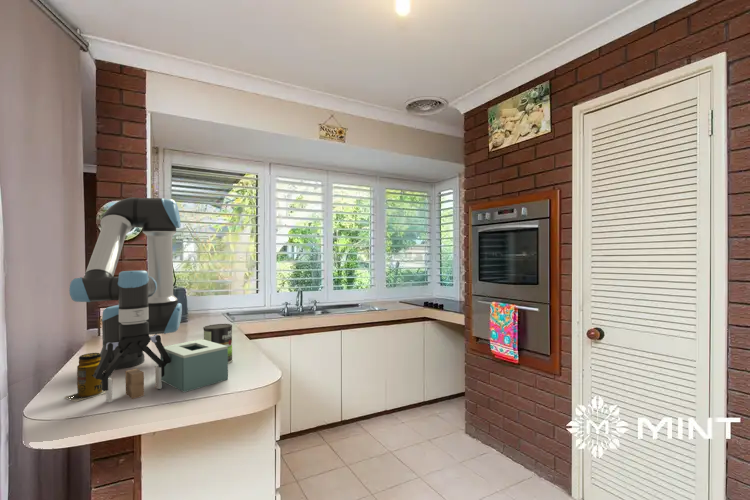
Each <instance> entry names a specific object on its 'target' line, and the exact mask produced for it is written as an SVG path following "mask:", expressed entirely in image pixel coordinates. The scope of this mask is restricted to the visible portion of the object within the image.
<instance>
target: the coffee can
mask: <svg viewBox="0 0 750 500" xmlns="http://www.w3.org/2000/svg"><path fill="white" fill-rule="evenodd" d="M202 329H203V339H204V340H207V341H211V342H214V343H218V344H222V345H225V346H228V365H229V364H230V363H232V362H233V324H231V323H216V324H209V325H205V326H203V328H202Z"/></svg>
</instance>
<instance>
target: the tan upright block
mask: <svg viewBox="0 0 750 500" xmlns="http://www.w3.org/2000/svg"><path fill="white" fill-rule="evenodd" d="M124 374H125V377H124V378H125V395H126V396H127V397H129V398H130V399H132V400H134V399H137V398H140V397H144V396H145V372H144V371H143V370H140V369H139V368H133V369H128V370H125V373H124Z"/></svg>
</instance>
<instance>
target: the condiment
mask: <svg viewBox="0 0 750 500" xmlns="http://www.w3.org/2000/svg"><path fill="white" fill-rule="evenodd" d="M100 353H101V352H89V353H84V354H81V355H80V356H79V357H78V365H77V366H76V369H77V371H76V377H77V378H76V379H77V380H76V381H77V383H76V384H77V387H76V388H77V389H76V390H77V392H76V393H74V394H71V395H66V396H63V398H64V399H66V398H68V399H71V401H72V402H75V403H76V402H80V401H83V400H87V399H90V398H93V397H97V396H100V395H103V394H106V391H103V390H102V380H101V379H96V378H94V377H93V375H94V373H95V371H96V369H97V366H98V364H99V362H100V360H101V354H100ZM73 396H74V397H73ZM69 397H70V398H69ZM71 397H73V398H71ZM68 399H67V400H68Z"/></svg>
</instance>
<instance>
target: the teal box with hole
mask: <svg viewBox="0 0 750 500" xmlns="http://www.w3.org/2000/svg"><path fill="white" fill-rule="evenodd" d="M163 346H164V348H165V350H166V352H167V354H168V356H169V358H170V359H171V362H170V363H168V364H166V366H165V367H164V373H165V375H164V376H163V377H161V382H163V383H166V384H167V385H170V386H172V387H173V388H175V389H177V390H179V391H181V392H183V393H185V392H190V391H192V390H197V389H199V388H203V386H204V387H207V386H210V385H214V384H217V383H220V382H224V381H227V379H228V380H229V364H228V346H225V345H222V344H218V343H214V342H211V341H207V340H204V338H202V339H196V340H190V341H185V342H181V343H180V342H179V343H175V344H169V345H163ZM159 358H160V359H161V360H162V361H163V358H162V356H161V355H159Z"/></svg>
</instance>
